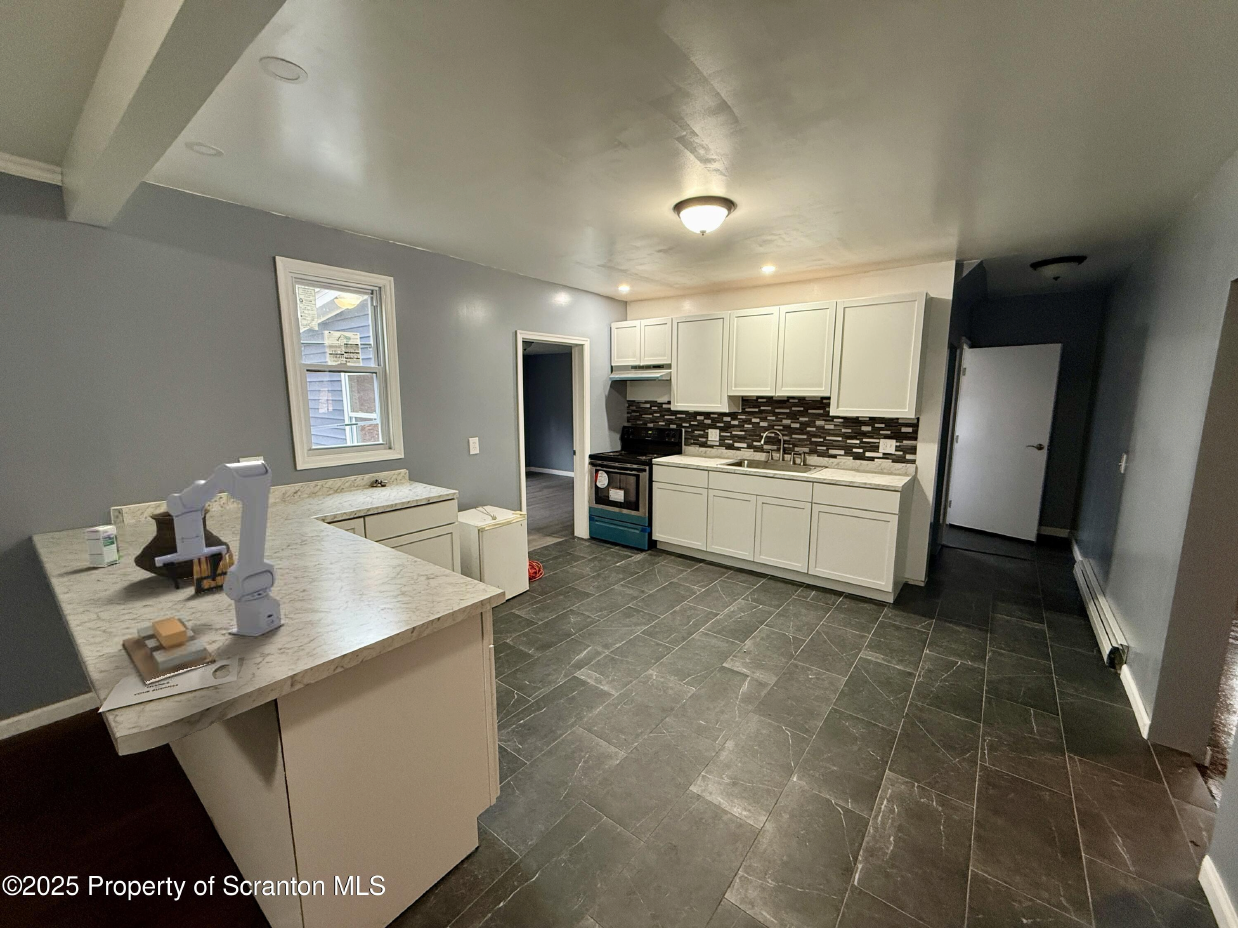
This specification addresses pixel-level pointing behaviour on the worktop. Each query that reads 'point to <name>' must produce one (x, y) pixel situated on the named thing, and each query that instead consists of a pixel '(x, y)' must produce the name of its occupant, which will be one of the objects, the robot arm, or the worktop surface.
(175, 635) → the tan rectangular plank
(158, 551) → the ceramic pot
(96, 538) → the syrup box
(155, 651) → the rail
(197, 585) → the ammunition clip
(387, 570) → the worktop surface
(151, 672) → the rail base
